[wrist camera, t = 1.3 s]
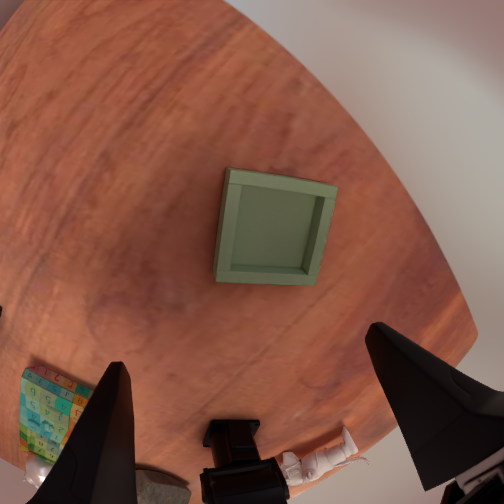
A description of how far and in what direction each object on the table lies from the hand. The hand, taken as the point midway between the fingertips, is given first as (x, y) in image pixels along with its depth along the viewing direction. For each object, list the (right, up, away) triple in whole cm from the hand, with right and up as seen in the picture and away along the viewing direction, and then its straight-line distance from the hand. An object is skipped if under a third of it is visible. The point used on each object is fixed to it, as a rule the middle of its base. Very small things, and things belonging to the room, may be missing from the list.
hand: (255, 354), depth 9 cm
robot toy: (+9, -29, +30) cm, 42 cm away
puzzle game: (-24, -18, +17) cm, 35 cm away
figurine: (-35, -32, +20) cm, 52 cm away
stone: (-16, -34, +26) cm, 46 cm away
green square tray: (+1, +6, +14) cm, 15 cm away
